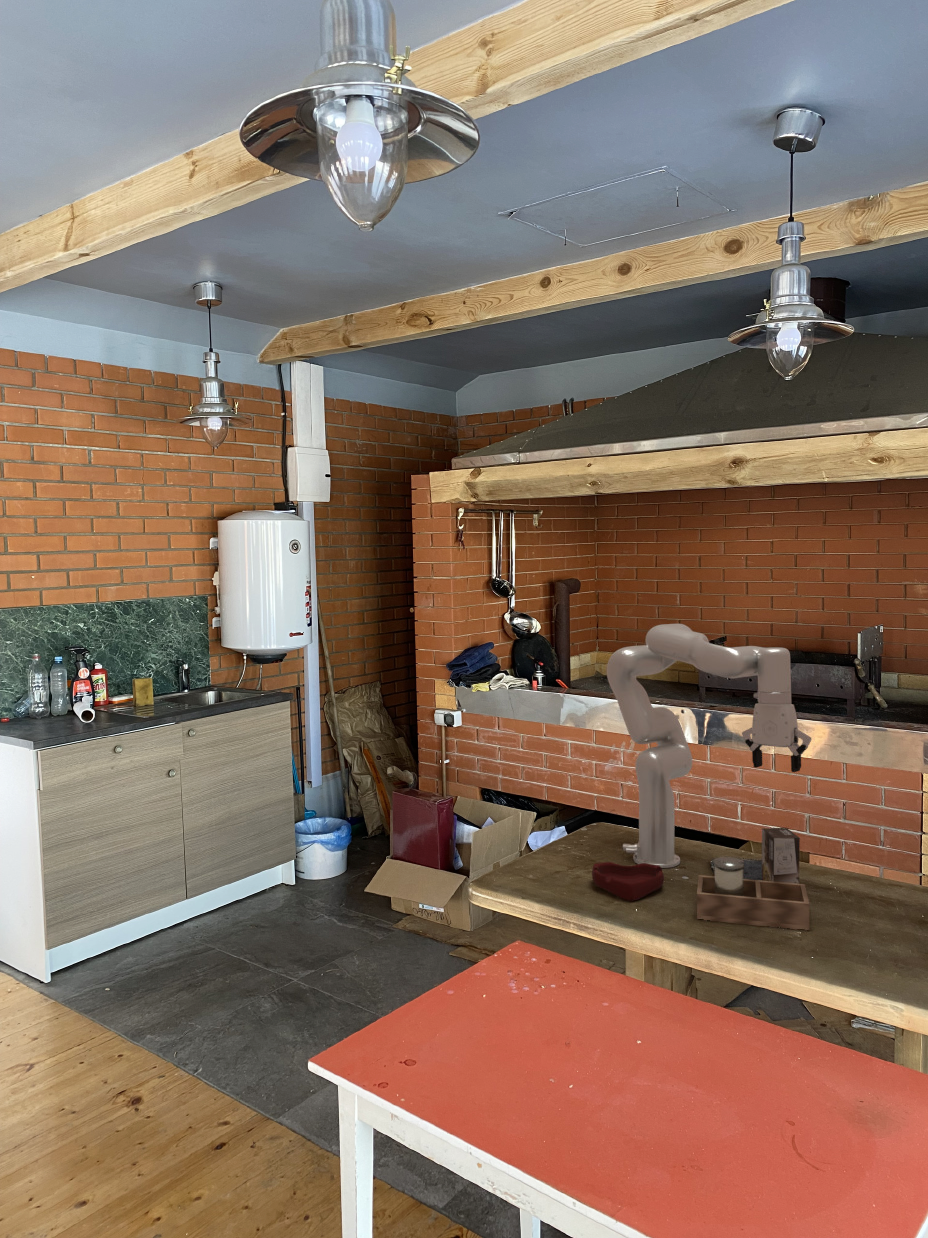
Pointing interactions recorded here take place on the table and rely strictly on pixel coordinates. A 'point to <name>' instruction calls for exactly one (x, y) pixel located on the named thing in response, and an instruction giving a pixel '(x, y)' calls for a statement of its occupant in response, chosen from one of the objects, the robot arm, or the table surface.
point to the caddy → (755, 904)
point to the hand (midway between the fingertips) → (776, 769)
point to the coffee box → (780, 855)
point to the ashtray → (628, 879)
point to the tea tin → (729, 876)
